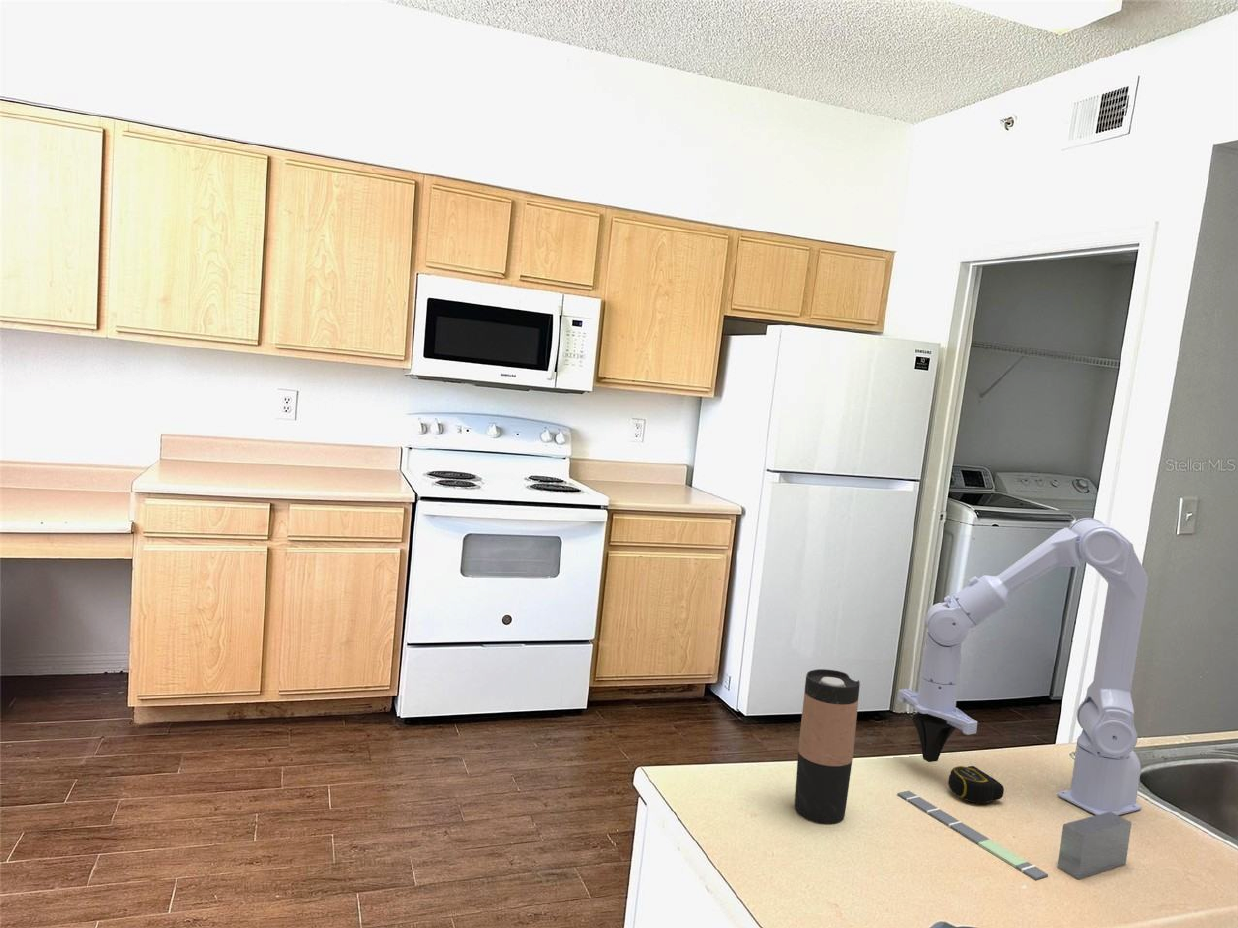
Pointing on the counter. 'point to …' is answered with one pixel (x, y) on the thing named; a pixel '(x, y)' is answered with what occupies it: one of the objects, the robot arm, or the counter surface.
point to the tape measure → (974, 785)
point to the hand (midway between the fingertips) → (930, 759)
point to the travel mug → (826, 745)
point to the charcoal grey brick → (1094, 845)
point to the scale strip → (975, 836)
